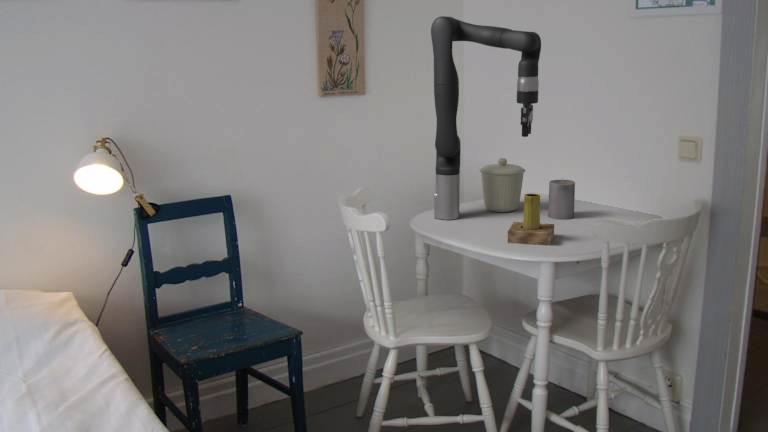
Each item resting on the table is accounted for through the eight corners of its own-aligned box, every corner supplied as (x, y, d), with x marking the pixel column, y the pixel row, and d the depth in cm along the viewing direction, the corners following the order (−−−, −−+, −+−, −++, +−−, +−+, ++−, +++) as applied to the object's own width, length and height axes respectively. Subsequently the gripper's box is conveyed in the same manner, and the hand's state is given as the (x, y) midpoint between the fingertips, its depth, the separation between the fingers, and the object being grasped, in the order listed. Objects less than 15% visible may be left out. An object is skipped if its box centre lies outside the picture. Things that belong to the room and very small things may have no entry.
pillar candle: (555, 212, 291) (556, 175, 287) (578, 215, 285) (579, 177, 281) (543, 217, 284) (544, 179, 280) (567, 220, 277) (568, 181, 274)
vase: (540, 238, 248) (541, 197, 245) (521, 237, 249) (522, 196, 246) (540, 234, 254) (541, 193, 251) (522, 233, 255) (523, 193, 252)
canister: (533, 209, 297) (534, 157, 293) (505, 216, 285) (506, 162, 281) (497, 203, 310) (498, 153, 306) (469, 210, 298) (470, 158, 294)
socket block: (507, 242, 247) (507, 231, 247) (513, 232, 260) (513, 221, 260) (550, 245, 243) (550, 233, 242) (553, 235, 256) (554, 224, 255)
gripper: (519, 88, 269) (518, 132, 272) (514, 90, 256) (513, 137, 259) (540, 88, 266) (539, 133, 270) (536, 90, 253) (534, 137, 257)
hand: (526, 135), depth 265 cm, fingers open, 8 cm apart
